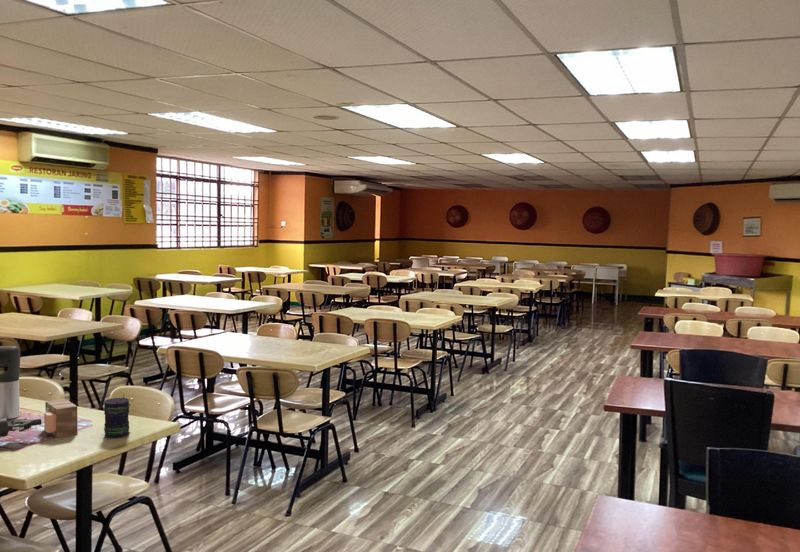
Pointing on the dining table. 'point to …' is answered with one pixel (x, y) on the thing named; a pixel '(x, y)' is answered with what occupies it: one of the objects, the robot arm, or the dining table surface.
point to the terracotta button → (50, 422)
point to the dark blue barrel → (116, 418)
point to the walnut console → (64, 417)
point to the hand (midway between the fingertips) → (41, 421)
